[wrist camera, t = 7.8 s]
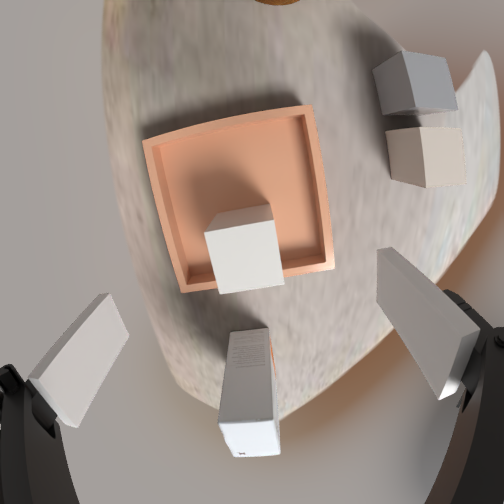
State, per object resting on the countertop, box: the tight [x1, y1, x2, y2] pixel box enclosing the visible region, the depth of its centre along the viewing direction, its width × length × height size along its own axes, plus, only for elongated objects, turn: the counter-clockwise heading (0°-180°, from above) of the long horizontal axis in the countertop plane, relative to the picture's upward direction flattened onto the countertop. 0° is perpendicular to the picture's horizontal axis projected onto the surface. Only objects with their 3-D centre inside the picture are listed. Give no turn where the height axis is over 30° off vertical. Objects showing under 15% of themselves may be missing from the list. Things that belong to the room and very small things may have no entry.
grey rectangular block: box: [372, 51, 458, 116], centre depth 16 cm, size 4×4×6 cm
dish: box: [142, 104, 335, 293], centre depth 22 cm, size 13×13×2 cm
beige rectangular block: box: [385, 127, 466, 188], centre depth 18 cm, size 4×4×6 cm
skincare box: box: [218, 328, 281, 457], centre depth 23 cm, size 6×4×12 cm
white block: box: [204, 204, 284, 294], centre depth 21 cm, size 4×4×6 cm
